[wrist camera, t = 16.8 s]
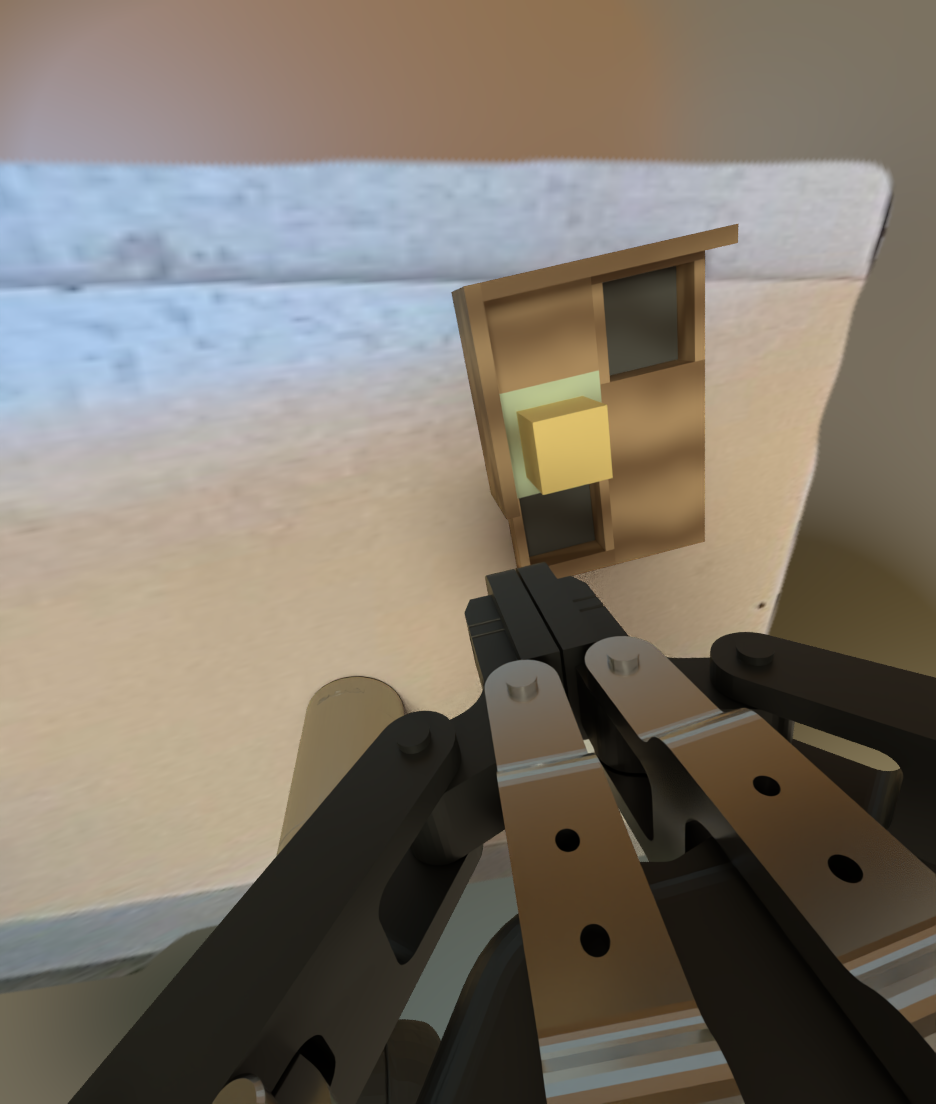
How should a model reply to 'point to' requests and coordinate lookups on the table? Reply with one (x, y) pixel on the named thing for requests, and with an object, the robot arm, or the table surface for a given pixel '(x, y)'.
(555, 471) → the block
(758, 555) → the table surface
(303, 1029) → the robot arm
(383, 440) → the table surface
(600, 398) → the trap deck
